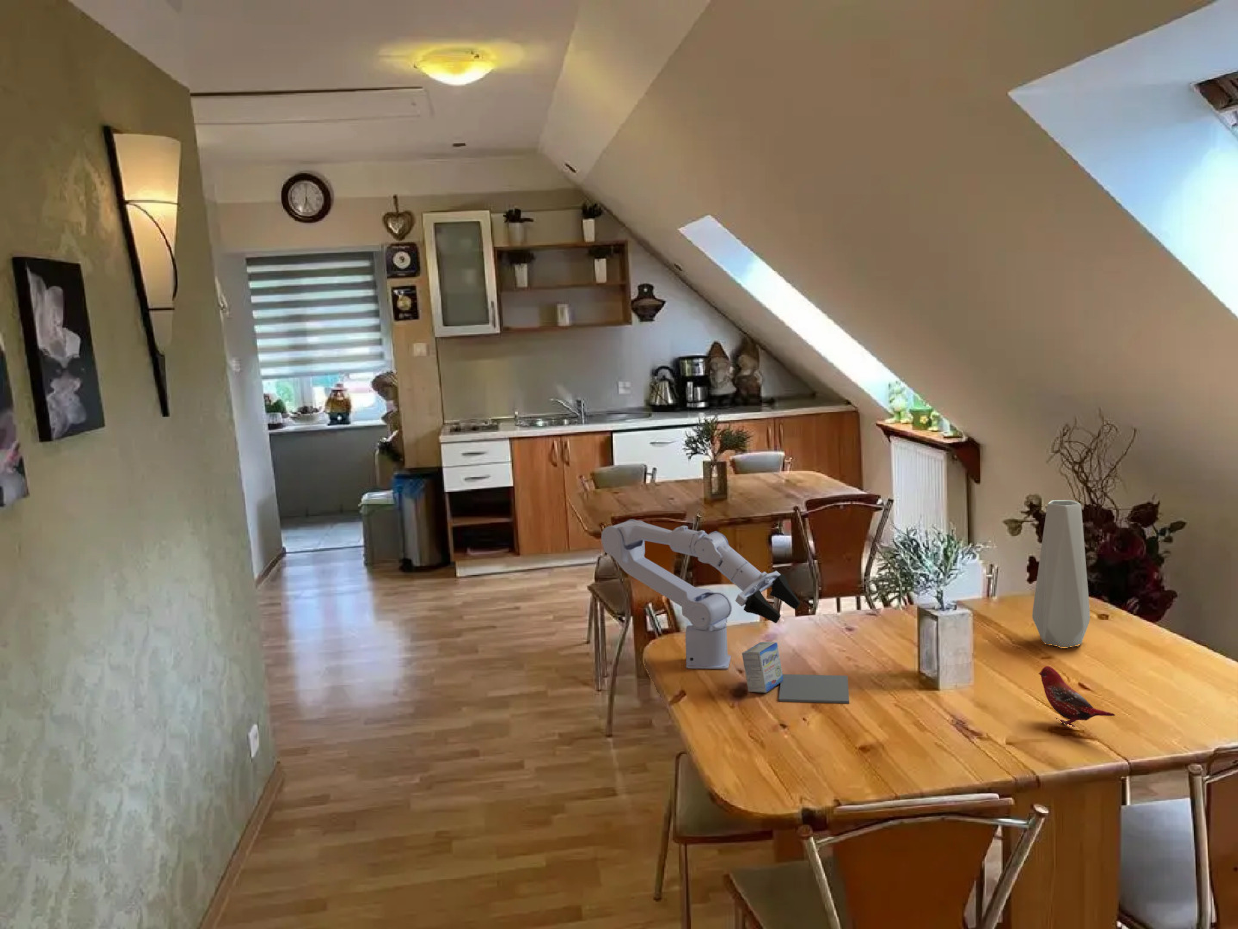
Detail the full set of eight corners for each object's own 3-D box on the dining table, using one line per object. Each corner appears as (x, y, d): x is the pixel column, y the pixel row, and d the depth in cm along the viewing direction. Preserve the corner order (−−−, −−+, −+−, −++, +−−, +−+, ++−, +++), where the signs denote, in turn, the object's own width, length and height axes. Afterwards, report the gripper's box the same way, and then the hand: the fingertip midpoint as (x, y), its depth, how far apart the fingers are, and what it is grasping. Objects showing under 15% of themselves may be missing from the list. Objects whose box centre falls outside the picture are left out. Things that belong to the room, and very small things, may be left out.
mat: (778, 701, 196) (778, 699, 196) (781, 676, 210) (781, 674, 210) (849, 703, 193) (849, 701, 193) (847, 677, 207) (847, 675, 207)
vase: (1038, 631, 229) (1039, 496, 225) (1091, 639, 223) (1094, 499, 218) (1025, 647, 220) (1026, 505, 215) (1081, 655, 213) (1083, 509, 208)
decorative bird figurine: (1044, 710, 185) (1044, 661, 184) (1120, 746, 169) (1121, 692, 167) (1032, 713, 184) (1032, 663, 183) (1108, 750, 168) (1109, 695, 166)
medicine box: (766, 693, 199) (759, 652, 199) (747, 692, 202) (741, 652, 202) (784, 681, 206) (777, 641, 205) (765, 680, 208) (759, 641, 208)
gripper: (727, 571, 204) (776, 613, 198) (766, 548, 214) (813, 587, 208) (716, 594, 208) (763, 635, 202) (755, 570, 218) (801, 609, 212)
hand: (788, 612), depth 206 cm, fingers open, 7 cm apart
